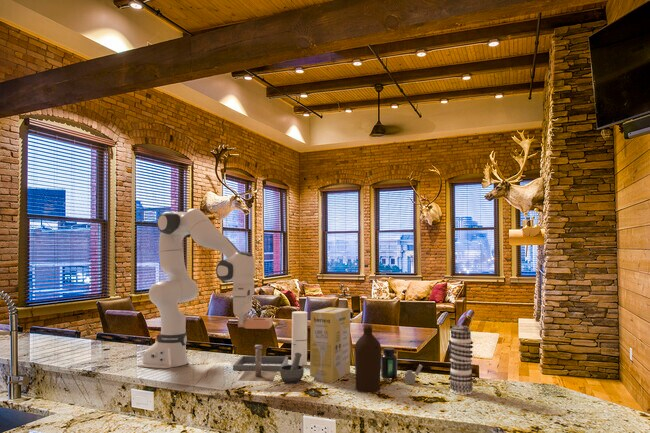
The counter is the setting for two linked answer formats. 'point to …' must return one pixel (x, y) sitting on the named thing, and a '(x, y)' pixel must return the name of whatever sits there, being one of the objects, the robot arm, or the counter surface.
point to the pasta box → (330, 344)
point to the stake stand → (257, 370)
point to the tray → (264, 360)
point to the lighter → (412, 375)
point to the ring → (257, 323)
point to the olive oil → (367, 361)
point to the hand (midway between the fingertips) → (243, 323)
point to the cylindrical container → (299, 336)
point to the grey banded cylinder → (460, 360)
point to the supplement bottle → (388, 363)
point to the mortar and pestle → (292, 371)
